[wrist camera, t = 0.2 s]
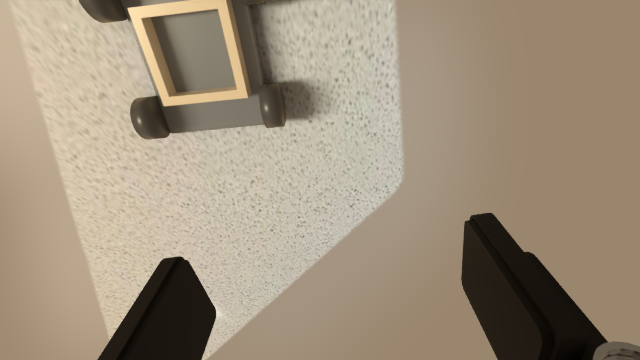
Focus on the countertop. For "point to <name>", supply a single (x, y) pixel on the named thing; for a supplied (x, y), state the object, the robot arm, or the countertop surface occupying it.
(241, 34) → the toy chassis
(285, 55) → the countertop surface
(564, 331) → the robot arm
